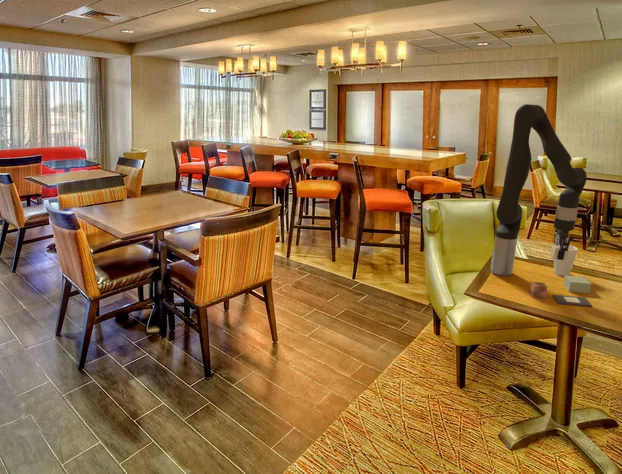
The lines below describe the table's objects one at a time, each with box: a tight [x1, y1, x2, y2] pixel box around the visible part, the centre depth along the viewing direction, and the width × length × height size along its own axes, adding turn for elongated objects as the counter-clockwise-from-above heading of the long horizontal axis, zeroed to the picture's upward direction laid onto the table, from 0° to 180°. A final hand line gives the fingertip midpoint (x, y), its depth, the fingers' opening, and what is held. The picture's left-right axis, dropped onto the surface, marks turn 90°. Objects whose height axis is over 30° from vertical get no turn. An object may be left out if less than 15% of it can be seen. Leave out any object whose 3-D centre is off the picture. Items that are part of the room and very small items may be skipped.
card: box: [552, 294, 593, 308], centre depth 184 cm, size 12×8×1 cm, turn 78°
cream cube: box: [549, 244, 569, 261], centre depth 191 cm, size 5×5×5 cm
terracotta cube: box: [529, 281, 548, 300], centre depth 189 cm, size 5×5×5 cm
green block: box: [562, 275, 592, 294], centre depth 197 cm, size 8×8×4 cm
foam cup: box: [553, 244, 579, 277], centre depth 212 cm, size 10×9×13 cm
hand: (558, 257), depth 192 cm, fingers closed on cream cube, 5 cm apart
